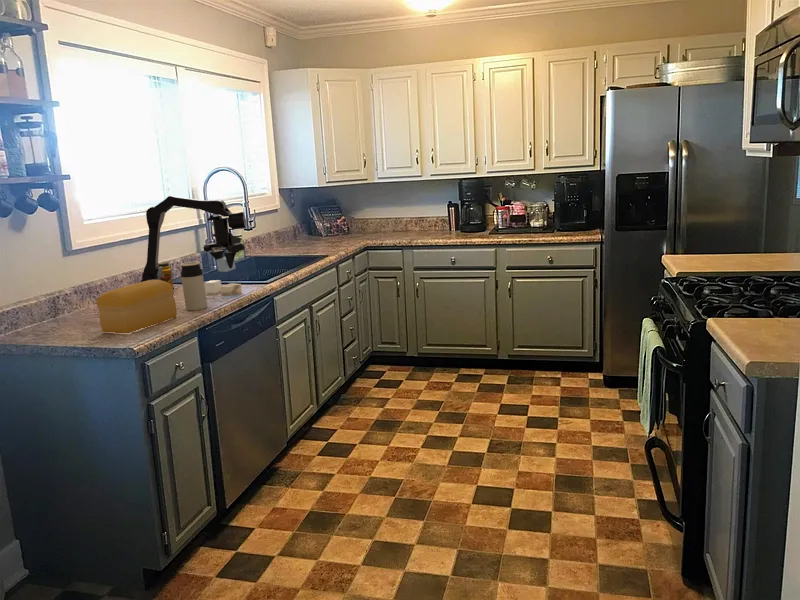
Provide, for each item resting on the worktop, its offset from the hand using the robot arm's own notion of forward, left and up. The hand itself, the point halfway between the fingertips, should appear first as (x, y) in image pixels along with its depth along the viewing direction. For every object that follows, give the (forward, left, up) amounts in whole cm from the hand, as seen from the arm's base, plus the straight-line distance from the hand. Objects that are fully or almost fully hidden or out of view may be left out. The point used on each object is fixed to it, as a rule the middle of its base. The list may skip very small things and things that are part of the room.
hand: (226, 268), depth 278 cm
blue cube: (0, 0, -1) cm, 1 cm away
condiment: (+3, +45, -12) cm, 46 cm away
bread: (-47, -5, -12) cm, 49 cm away
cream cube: (+3, +13, -12) cm, 18 cm away
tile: (-2, -3, -12) cm, 12 cm away
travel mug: (-22, -5, -12) cm, 26 cm away
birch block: (+2, +1, -12) cm, 12 cm away
